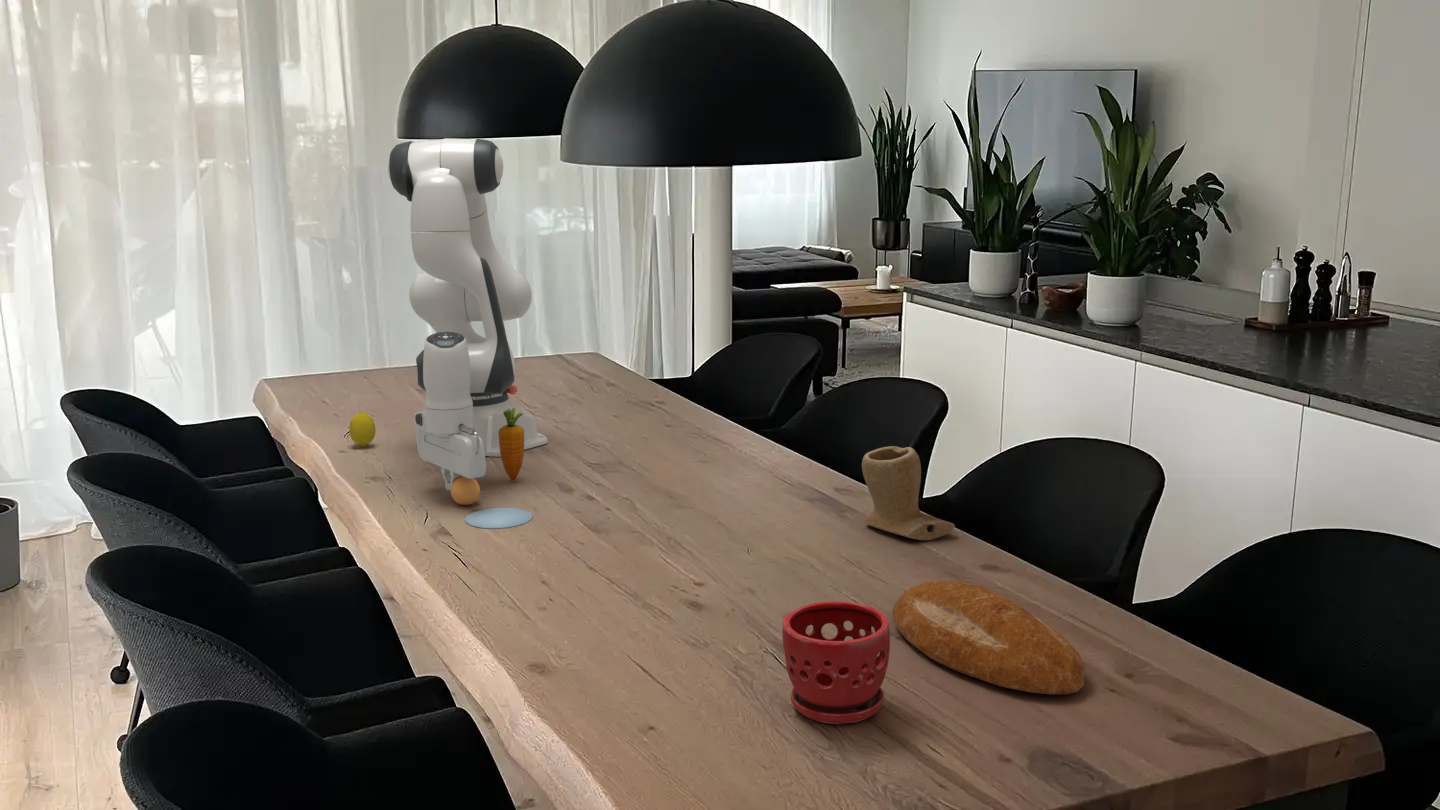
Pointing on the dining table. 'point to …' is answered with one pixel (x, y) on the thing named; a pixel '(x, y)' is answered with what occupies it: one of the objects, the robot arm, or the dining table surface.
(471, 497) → the ball
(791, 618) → the plant pot
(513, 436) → the carrot
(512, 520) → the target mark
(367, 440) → the lemon
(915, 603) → the bread
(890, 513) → the tan boot-shaped piece
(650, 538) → the dining table surface
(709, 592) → the dining table surface
